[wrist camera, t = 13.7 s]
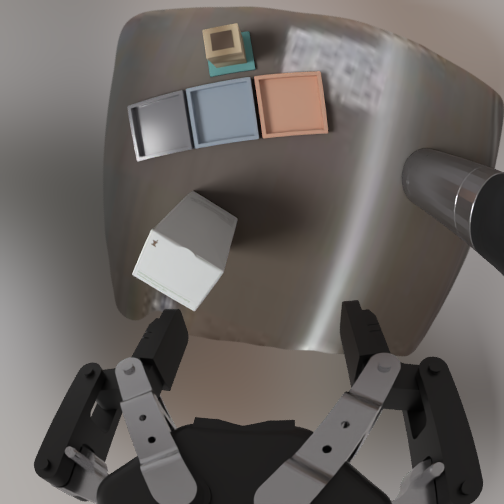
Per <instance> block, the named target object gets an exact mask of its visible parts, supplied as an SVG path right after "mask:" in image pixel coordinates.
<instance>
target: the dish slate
mask: <svg viewBox="0 0 504 504" xmlns="http://www.w3.org/2000/svg"><path fill="white" fill-rule="evenodd" d="M186 93H187V100H188V107H189V113H190V119H191V126H192V132H193V138H194V144H195V149H196V148H201V147H207V146H212V145H219V144H225V143H231V142H238V141H246V140H253V139H259V131H258V123H257V116H256V109H255V102H254V96H253V89H252V82H251V78H250V77H246V78H240V79H233V80H227V81H222V82H216V83H211V84H206V85H202V86H197V87H193V88H188V89H186Z"/></svg>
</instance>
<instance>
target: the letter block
mask: <svg viewBox="0 0 504 504" xmlns="http://www.w3.org/2000/svg"><path fill="white" fill-rule="evenodd" d="M203 37H204V44H205V51H206V58H207V59H208V60H209V61H210V62H211V63H212V64H213V65H214V66H215V67H216V68H220V67H225V66H231V65H237V64H244V63H247V60H246V54H245V48H244V42H243V37H242V34H241V32H240V29H239V27H238V24H231V25H225V26H220V27H215V28H210V29H206V30H203Z"/></svg>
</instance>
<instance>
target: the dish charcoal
mask: <svg viewBox="0 0 504 504" xmlns="http://www.w3.org/2000/svg"><path fill="white" fill-rule="evenodd" d="M127 107H128V113H129V120H130V126H131V132H132V137H133V143H134V148H135V153H136V158H137V161H141V160H145V159H149V158H153V157H157V156H162V155H166V154H171V153H176V152H180V151H185V150H190V149H194V148H195V146H194V140H193V134H192V128H191V122H190V116H189V109H188V103H187V96H186V91H184V90H180V91H176V92H172V93H169V94H165V95H162V96H158V97H155V98H151V99H148V100H145V101H142V102H139V103H136V104H133V105H130V106H127Z"/></svg>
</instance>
